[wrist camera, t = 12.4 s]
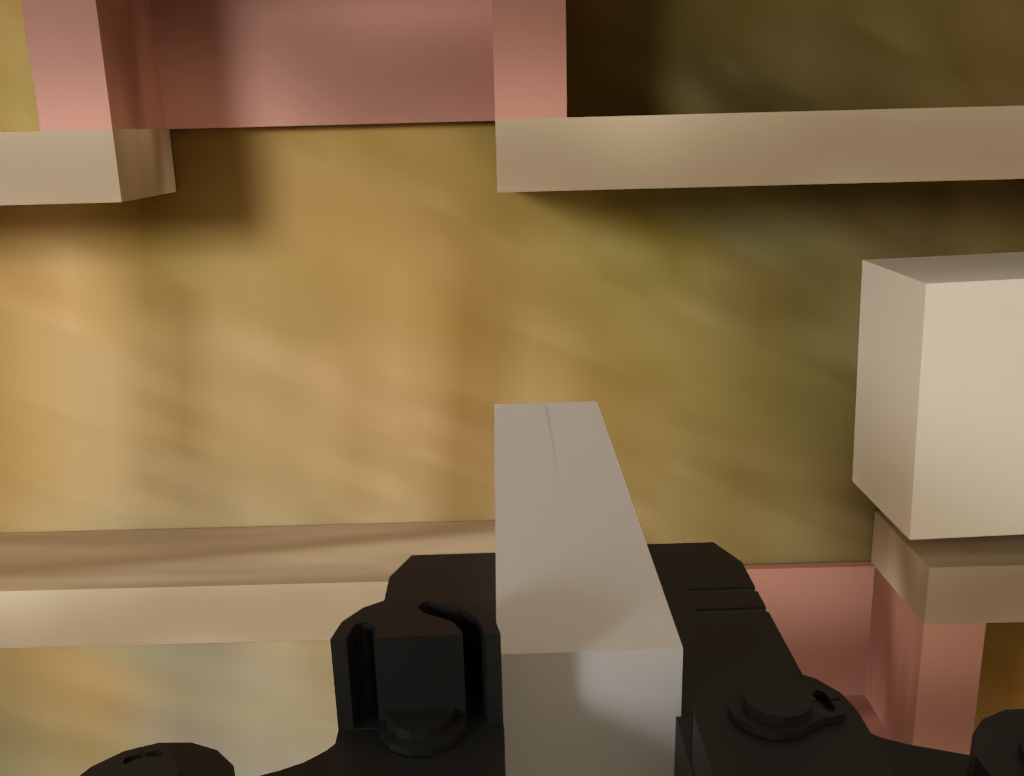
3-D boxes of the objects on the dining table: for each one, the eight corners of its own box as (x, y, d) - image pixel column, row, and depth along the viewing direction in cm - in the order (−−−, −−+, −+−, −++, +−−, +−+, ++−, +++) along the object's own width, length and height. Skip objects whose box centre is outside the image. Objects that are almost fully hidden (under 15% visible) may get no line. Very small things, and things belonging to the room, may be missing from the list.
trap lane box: (-208, -111, 22) (-464, -196, 16) (1254, -150, 22) (1522, -249, 16) (-34, 757, 28) (-175, 920, 22) (1114, 727, 28) (1273, 884, 22)
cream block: (859, 258, 25) (925, 283, 21) (1094, 247, 25) (1204, 269, 21) (849, 478, 26) (909, 539, 22) (1070, 468, 26) (1168, 527, 22)
